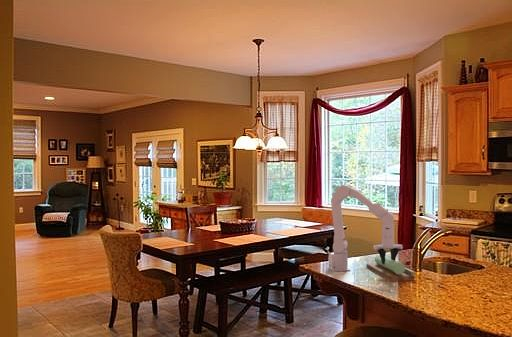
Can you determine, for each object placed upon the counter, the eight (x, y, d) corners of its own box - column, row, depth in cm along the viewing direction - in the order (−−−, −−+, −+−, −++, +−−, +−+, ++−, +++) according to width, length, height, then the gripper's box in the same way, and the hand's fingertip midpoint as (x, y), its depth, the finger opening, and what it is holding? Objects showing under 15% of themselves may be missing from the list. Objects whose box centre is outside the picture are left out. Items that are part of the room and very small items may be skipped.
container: (374, 251, 236) (395, 260, 211) (384, 255, 236) (407, 264, 211) (370, 262, 235) (391, 272, 210) (380, 266, 236) (402, 276, 211)
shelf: (390, 281, 209) (390, 272, 209) (366, 267, 236) (366, 259, 236) (414, 280, 210) (414, 271, 210) (388, 266, 238) (387, 259, 238)
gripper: (377, 238, 218) (377, 266, 218) (405, 237, 220) (405, 264, 220) (371, 235, 225) (371, 262, 225) (398, 235, 227) (398, 261, 227)
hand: (388, 263), depth 223 cm, fingers closed on container, 4 cm apart
